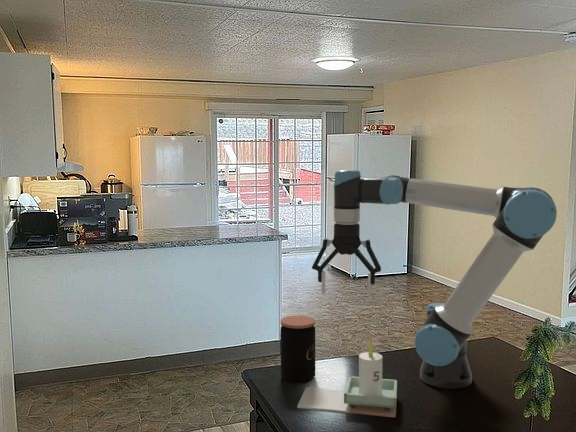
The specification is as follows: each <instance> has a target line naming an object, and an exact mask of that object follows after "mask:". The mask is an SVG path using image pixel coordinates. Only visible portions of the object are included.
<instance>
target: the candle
mask: <svg viewBox="0 0 576 432" xmlns="http://www.w3.org/2000/svg"><path fill="white" fill-rule="evenodd" d="M358 377H359V394H362V395H373V396H382V379H383V355H382V354H380V353H378V352H374V347H373V342H372V340H371V339H370V338H369V339H368V351H367V352H361V353H360V354H359V355H358Z"/></svg>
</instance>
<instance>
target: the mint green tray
mask: <svg viewBox="0 0 576 432" xmlns="http://www.w3.org/2000/svg"><path fill="white" fill-rule="evenodd" d="M344 391H345V392H344V404H349V405H350V407H351V408H355V407H356V405H365V406H376V407H384V410H385V411H390V409H391V408H396V409H397V404H396V396H397V397H398V395H397V394H398V380H397V379H391V378H390V379H388V378H382V396H373V395H362V394H359V376H353V375H349V376H348V379H347V382H346V386H345V390H344Z"/></svg>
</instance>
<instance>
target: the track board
mask: <svg viewBox="0 0 576 432" xmlns="http://www.w3.org/2000/svg"><path fill="white" fill-rule="evenodd" d="M344 392H345V390H343V389H330V388H321V387H319V388H318V387H308V386H306V387H305V388H304V390H303V393H302V396H301V397H300V400H299V401H298V403H297V409H305V410H313V411H314V410H315V411H326V412H334V413H345V414H354V415H365V416H375V417H377V416H378V417H386V418H396V415H397V407H396V408H391V409H390V411H385V410H384V407H376V406H365V405H356V407H355V408H351V407H350V405H349V404H344ZM397 399H398V395H397V396H396V405H398V404H397V401H398V400H397Z"/></svg>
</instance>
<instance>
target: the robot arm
mask: <svg viewBox="0 0 576 432" xmlns="http://www.w3.org/2000/svg"><path fill="white" fill-rule="evenodd" d="M333 182H334V183H333V195H334V196H333V199H334V200H333V201H334V202H333V203H334V204H333V222H334V224H333V239H332V238H331V239H329V238H328V237H325V238H324V239H323V240H322V247H321V248H320V251H319V252H318V254H317V256H316V258H315V260H314V261H313V264H312V266H311V269H312V270H315V271H316V272H317V282H318V283H321V295H324V294H325V293H326V270H324V269H325V268H326V267H327V266H328V265H329V264H330V262H331V261H332V260H333V259H334V258H335V256H337V254H340V255H343V256H344V255H348V256H352V255H355V256H356V257H357V258H358V260H360V261H361V263H362V264H363V265H364V266H365V268H366V269H367V270H368V272H367V297H370V296H371V295H372V293H371V292H372V285H375V282H376V273H380V272H381V270H382V267H381V264H380V262H379V261H378V258H377V257H376V255H375V253H374V249H373V248H372V246H371V244H372V243H371V239H369V238H367V239H364V240H363V239H362V240H361V238H360V234H361V233H360V230H361V229H360V226H361V225H360V223H359V222H360V221H361V220H360V219H361V217H360V216H361V204H378V205H381V204H383V205H386V206H387V205H388V206H389V205H398V204H400V203H405V204H413V205H418V206H423V207H424V206H426V207H433V208H438V209H439V208H440V209H444V210H451V211H459V212H465V213H472V214H479V215H485V216H492V217H494V218H495V220H494V222H493V223H492V225H491V226H492V230H493V234H492V235H491V236H490V238H489V239H488V240H487V242H486V243H485V245H484V247H483V248H482V249H481V251H480V252H479V254H478V255H477V256H476V258H475V260H473V262H472V264H471V265H470V267H469V268H468V269H467V271H466V273H464V275H463V277H462V278H461V280H460V281H459V283H457V285H456V287H455V288H454V289H453V291H452V293H451V294H450V295H449V296H448V298H447V300H446V301H445V302H435V303H434V302H433V303H429V304H428V305H427V307H426V320H425V321H424V323H423V324H422V325H421V327H420V328H419V329H418V330H417V331H416V332H415V333H416V334H415V336H414V348H415V351H416V352H417V354H418V356H419V357H420V358H421V359H422V360H423V361H422V362H421V363H422V364H421V366H420V370H419V378H420V380H421V381H422V382H423V383H425V384H427V385H429V386H432V387H435V388H440V389H449V390H456V389H463V388H468V387H469V386H471V385H472V383H473V381H472V380H473V375H472V374H473V373H472V371H471V366H470V364H469V360H468V356H467V348H468V347H467V342H468V339H469V338H470V337H471V335H472V334H473V333H474V329H473V323H474V321H475V319H476V318H477V316H478V315H479V314H480V313H481V312H482V310H483V309H484V307H485V306H486V305H487V303H488V301H489V300H490V299H491V297H492V296H493V295H494V293H495V292H496V291H497V289H498V288H499V286H500V285H501V283H503V281H504V280H505V278H506V276H507V275H508V274H509V273H510V271H511V270H512V269H513V267H514V266H515V264H516V263H517V262H518V260H519V259H520V257H521V256H522V254H524V253H525V252H529V251H533V250H534V249H535V248H536V246H538V244H539V242H540V241H541V240H542V238H543V237H544V235H546V234H547V233H548V232H550V230H551V229H552V228H553V226H554V225H555V223H556V220H557V217H558V216H557V214H558V213H557V211H558V210H557V206H556V203H555V201H554V200H553V198H552V196H551V195H550V194H549V193H548V192H546V191H545V190H543V189H541V188H538V187H531V186H530V187H509V186H501V188H499V189H497V188H488V187H482V186H474V185H473V186H472V185H468V184H467V185H465V184H459V183H458V184H457V183H452V182H451V183H449V182H442V181H434V180H426V179H420V178H419V179H418V178H409V177H403V176H399V175H388V176H381V177H380V176H377V177H376V176H374V177H371V176H369V177H368V176H367V177H365V176H362V175H361V171H360V170H358V169H339V170H336V171H335V173H334V181H333ZM331 245H333V247H334V248H335V249H334V250H333V251H332V252H331V253H330V255H329V256H328V257H327V258H326V259H325V260H324V261H323V262H322V264H320V265H319V263H320V261H321V260H322V257H323V255H324V254H325V251H327V250H326V249H327V248H328V247H329V246H331ZM361 245H362V246H363V247H364V248H366V251H367V253H368V255H369V257H370V260H371V261H372V264H373V265H372V264H371V263H370V261H368V259H367V258H366V257H365V256H364V254H363V253H362V252H361V250H360V249H359V248H360V247H361ZM373 266H374V267H373Z"/></svg>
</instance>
